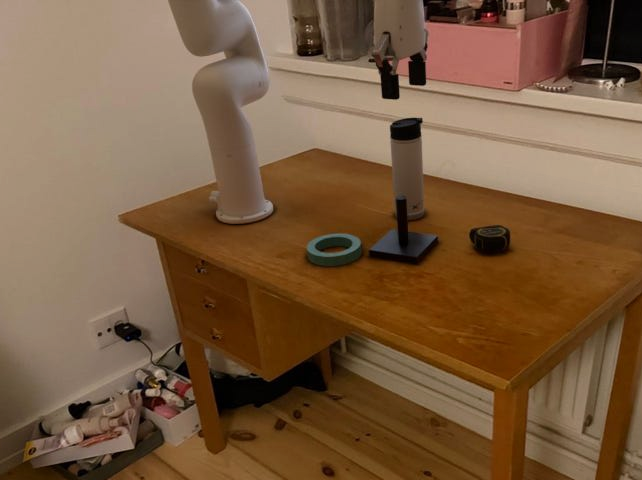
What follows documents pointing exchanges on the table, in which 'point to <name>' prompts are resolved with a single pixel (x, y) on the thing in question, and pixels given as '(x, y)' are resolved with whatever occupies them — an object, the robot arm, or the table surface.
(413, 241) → the stand
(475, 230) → the tape measure
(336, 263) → the bangle
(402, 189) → the travel mug
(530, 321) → the table surface
